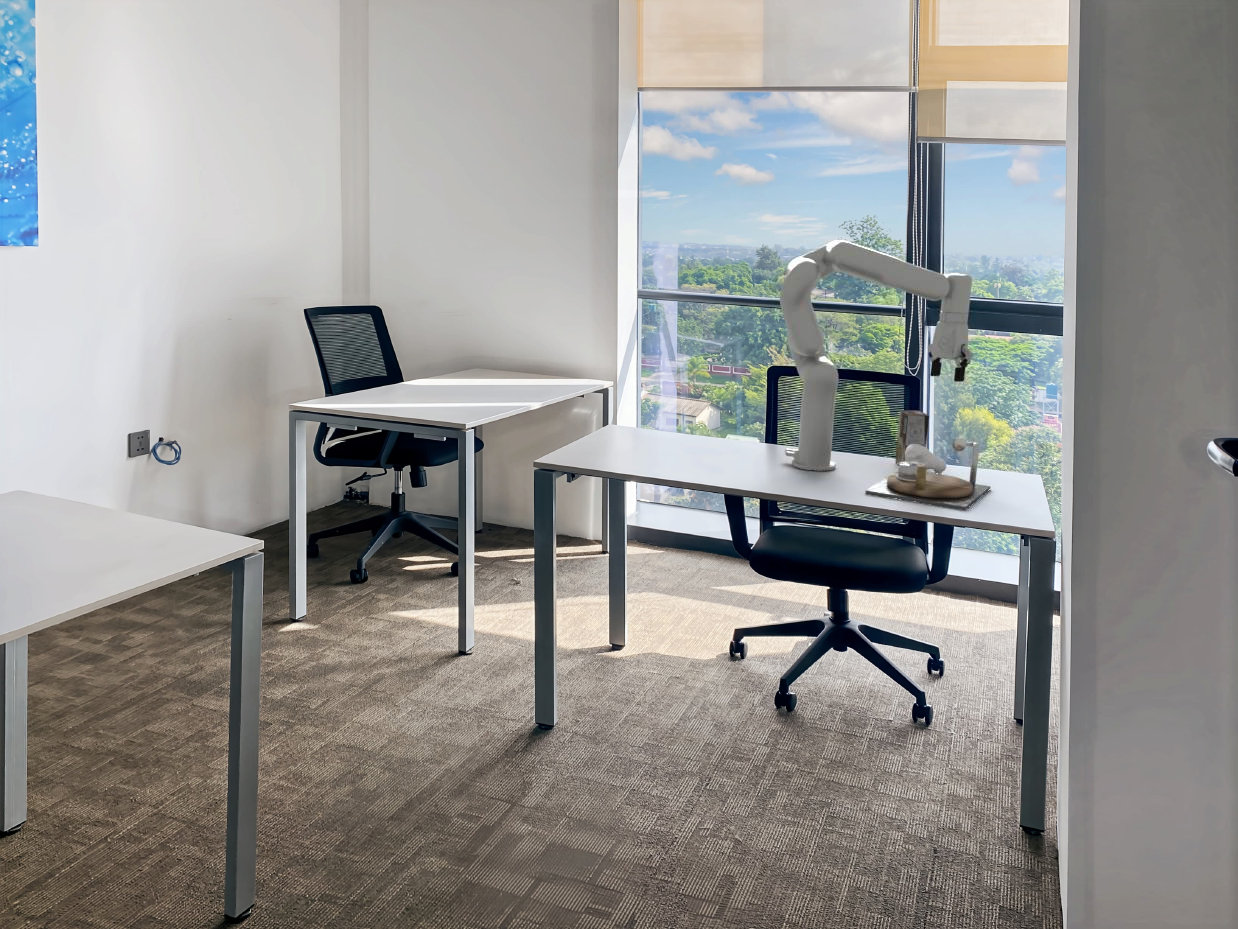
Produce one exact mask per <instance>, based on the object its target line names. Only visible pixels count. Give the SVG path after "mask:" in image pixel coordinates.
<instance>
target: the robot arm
mask: <svg viewBox="0 0 1238 929" xmlns="http://www.w3.org/2000/svg"><path fill="white" fill-rule="evenodd" d="M836 272H837V273H838V272H839V273H841V274H845V275H848V276H851V277H854V278H857V279H860V280H863V281H865V282H866V281H867V282H869V283H871V284H875V285H879V286H881V287H884V288H885V287H886V288H890V289H895V290H899V291H903V292H905V293H909V294H912V295H913V296H914V295H915V296H917V297H920V298H922V299H925V300H929V301H933V302H934V301H935V302H937V301H940V300H941V303H940V304H941V305H940V313H939V321H937V323H936V326H935V329H934V333H933V337H932V343H930V344H928V345H927V351H928V356H929V359H930V360H929V361H930V363H931V366H930V374H929V375H930V377H940V376H941V373H942V362H941V361H942V360H944V359H945V360H950V361H953V360H954V362H955V365H956V367H955V369H954V376H953V381H954V382H956V383H957V382H964V381H965V375H966V368H968V366H969V364H971V360H972V359H973V357H974V352H972V350H970V349H969V325H968V321H969V319H968V318H969V311H970V303H971V294H972V285H973V278H972V276H971V275H970V274H964V273H963V274H962V273H948V274H946V273H940V272H936V271H934V270H931V269H927V268H924V267H921V266H918V265H916V264H912V263H910V262H906V261H905V260H902V259H900V258H897V257H895V256H892V255H890V254H887V253H884V252H883V253H882V252H881V251H877V250H874V249H872V248H868V247H865V246H863V245H859V244H856V243H853V242H850V241H847V240H839V239H838V240H834V241H831V242H829V243H827V244H825V245H823V246H820V247H819V248H817V249H814V250H812V251H809V252H808V253H804V254H803V255H800V256H798V257H796V258H794V259H793V260H792V261H790V263H789V264H788V265H787V268H786V272H785V274H786V277H785V278H784V280H783V282H782V284H781V288H780V291H779V292H780V293H779V303H780V304H779V305H780V308H781V312H782V316H783V319H784V321H785V325H786V328H787V334H786V341H787V345H788V348H789V351H790V354H791V356H792V359H793V362H794V364H795V368H796V370H797V373H798V375H799V378H800V379H801V381H802V382H803V385H802V387H803V388H802V396H801V402H800V404H801V405H800V417H799V433H798V447H797V448H796V449H792V448H786V449H785V451H784V454H785V456H786V457H793V460H791V466H793V467H794V468H796V467H797V468H796V469H799V468H800V470H804V469H805V471H811V470H815V471H814V472H824V471H825V470H827V471H831V470H832V471H833V470H834V469H835V468H836V462H834V461H832V459H831V456H832V449H833V448H832V447H833V446H832V445H833V434H834V418H835V408H836V407H835V406H836V399H837V398H836V397H837V393H838V392H837V391H838V387H839V373H838V372H839V371H838V369H837V367H836V365H835V364H834V363H833V362H832V361H831V360H829V358H828V355H827V352H826V350H825V346H824V340H825V339H824V337H825V336H824V333H823V331H822V329H821V327H820V324H819V322H818V319H817V316H816V313H815V311H814V306H813V304H812V299H811V298H812V296H811V295H812V292H813V290H814V288H815V287H816V286H817V284H818V283H819V281H820V280H822V279H824V278H826V277H829V276H831V275H833V274H835V273H836ZM816 470H817V471H816ZM823 470H824V471H823Z"/></svg>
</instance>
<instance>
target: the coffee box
mask: <svg viewBox="0 0 1238 929" xmlns="http://www.w3.org/2000/svg"><path fill="white" fill-rule="evenodd" d="M898 415H899V416H898V424H897V425H898V428H897V439H896V452H895V460H894V461H895V462H897V463H898V464H897V463H896V464H897V465H898V466H899V463H900V462H905V451H906V448H907V447H908V446H909V445H911V444H919V445H922V446H924V447H925V448H927V439H928V430H929V422H930V421H929V420H930V415H928V414H926V413H925V412H924V411H921V410H914V409H913V410H899V414H898Z"/></svg>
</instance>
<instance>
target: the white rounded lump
mask: <svg viewBox="0 0 1238 929" xmlns="http://www.w3.org/2000/svg"><path fill="white" fill-rule="evenodd" d="M906 461H909V462H919V463H923V464H925V465H926V467H927V470H933V471H934V473H938V474H942V473H944V472H945V471H946V469H947V462H946V461H945V460H944V459H942V458H939V457H936V456H935V455H934V454H933V452H931V451H930V450H929V449H928V448H927V447H926V448H925V447H924V446H922V445H919V444H911V445H909V446H908V447H907V448H906V451H905V462H906ZM927 470H926V471H927Z"/></svg>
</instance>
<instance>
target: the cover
mask: <svg viewBox="0 0 1238 929" xmlns="http://www.w3.org/2000/svg"><path fill="white" fill-rule="evenodd" d="M918 465H922V466H926V465H925V464H923V463H919V462H909V461H906V462H900V463H899V465H898V470H897V472H898V474H897V475H896V478H897V479H898V480H901V481H905V482H915V483H916V473H917V466H918ZM925 481H926V480H925Z"/></svg>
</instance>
